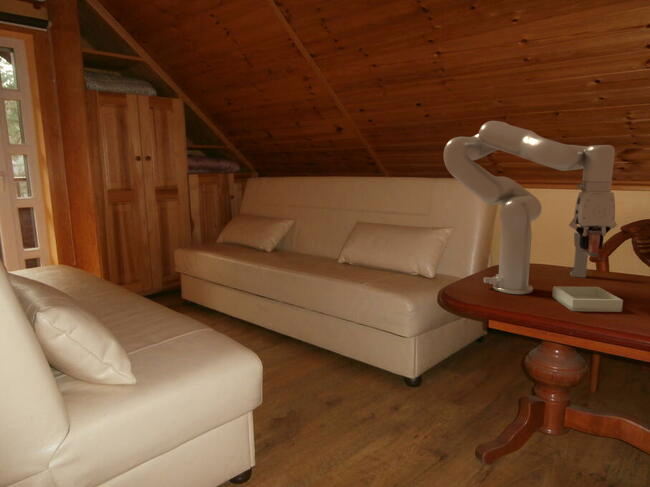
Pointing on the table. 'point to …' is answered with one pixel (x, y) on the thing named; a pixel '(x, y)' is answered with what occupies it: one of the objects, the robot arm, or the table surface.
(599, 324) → the table surface
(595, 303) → the tray
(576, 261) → the vintage mobile phone
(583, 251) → the lighter
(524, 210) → the robot arm
